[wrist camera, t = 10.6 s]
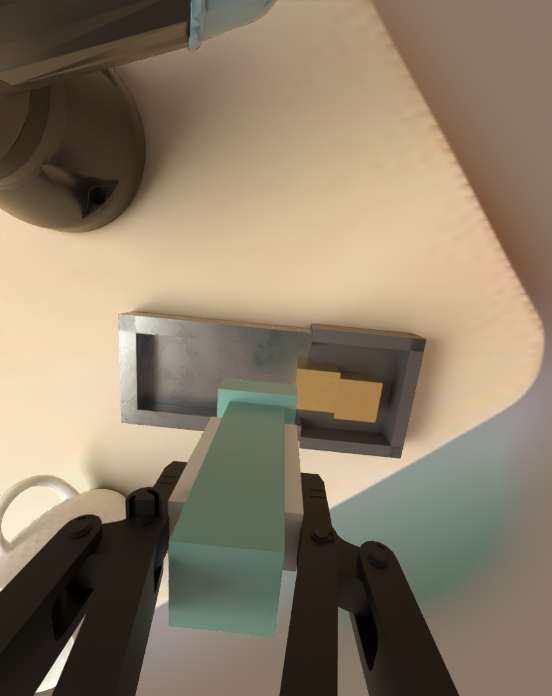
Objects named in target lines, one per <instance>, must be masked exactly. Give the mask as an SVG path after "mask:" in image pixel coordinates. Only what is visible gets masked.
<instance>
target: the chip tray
mask: <svg viewBox="0 0 552 696" xmlns="http://www.w3.org/2000/svg"><path fill="white" fill-rule="evenodd" d="M311 330H312V332H313V336H312V344H311V350H309V351H308V359H307V362H308V363H318V364H328V365H336V366H337V368H338V369H339V371H342V372H352V373H362V374H372V375H376V377H377V378H378V379H379V380H380V381H381V382H382V383H383V385H382V391H381V396H380V401H379V406H378V412H377V417H376V422H375V423H374V422H364V421H355V420H345V419H335V418H333V415H332V413H331V412H321V411H312V410H302V409H301V434H300V441H299V448H303V449H313V450H322V451H332V452H342V453H352V454H362V455H371V456H381V457H391V458H401V455H402V450H403V445H404V440H405V436H406V431H407V426H408V422H409V417H410V412H411V408H412V403H413V398H414V394H415V389H416V384H417V380H418V375H419V370H420V366H421V361H422V356H423V352H424V347H425V342H426V339H424V338H422V337H419V336H417V335H415V334H412V333H403V332H393V331H382V330H372V329H362V328H351V327H341V326H331V325H320V324H311Z"/></svg>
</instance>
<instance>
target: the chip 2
mask: <svg viewBox="0 0 552 696" xmlns="http://www.w3.org/2000/svg"><path fill="white" fill-rule="evenodd" d="M340 373H341V374H340V381H339V387H338V394H337V400H336V407H335V413H332V415H333V418H335V419H345V420H355V421H364V422H374V423H375V422H376V417H377V412H378V406H379V401H380V396H381V391H382V385H383V383H382V382H381V381H380V380H379V379H378V378H377V377H376V375H372V374H362V373H352V372H342V371H340Z"/></svg>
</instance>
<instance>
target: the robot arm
mask: <svg viewBox="0 0 552 696" xmlns="http://www.w3.org/2000/svg"><path fill="white" fill-rule="evenodd" d="M276 1H277V0H0V208H1V209H2V210H4V211H5V212H7V213H9V214H10V215H12V216H14V217H16V218H18V219H20V220H22V221H24V222H27V223H29V224H32V225H35V226H38V227H43V228H47V229H52V230H56V231H61V232H71V233H77V232H86V231H91V230H94V229H97V228H100V227H102V226H104V225H106V224H108V223H109V222H111V221H112V220H114V219H115V218H116V217H118V216H119V215H120V214H121V213H122V212H123V211H124V210H125V208H126V207H127V206H128V205H129V203H130V202H131V200H132V199H133V197H134V195H135V193H136V191H137V189H138V186H139V184H140V181H141V178H142V173H143V168H144V161H145V140H144V133H143V127H142V123H141V119H140V116H139V113H138V110H137V107H136V105H135V103H134V101H133V98H132V97H131V95H130V93H129V91H128V89H127V88H126V86H125V85H124V83H123V82H122V80H121V79H120V78H119V77H118V75H117V74H116V73H115V72H114V70H113V69H112V68H111V67H115V66H119V65H122V64H126V63H130V62H133V61H137V60H141V59H145V58H148V57H152V56H156V55H159V54H163V53H167V52H171V51H174V50H178V49H182V48H186V47H188V49H189V51H193V50H196V49H198V48H199V47H200V45H201V43H202V41H205V40H207V39H210V38H212V37H214V36H217V35H219V34H222V33H224V32H227V31H230V30H232V29H235V28H238V27H241V26H244V25H246V24H249V23H252V22H254V21H256V20H258V19H260V18H261V17H263V16H264V15H265V14H266V13H267V12H268V11H269V10H270V9H271V8H272V6H273V5H274V4H275V2H276ZM221 419H222V418H221V417H211V418H210V420H209V422H208V424H207V426H206V428H205V430H204V432H203V434H202V436H201V438H200V440H199V442H198V444H197V446H196V448H195V450H194V451H193V453H192V455H191V457H190V459H189V461H188V462H178V461H173V462H172V463H170V464H169V465H168V466H167V467H165V469H164V470H163V472H162V474H161V475H160V477H159V478H158V480H157V482H156V483H155V485H154V487H145V488H141V489H138V490H136V491H134V492H132V493H131V494H130V495H129V496H128V497H127V498H126V500H125V508H126V519H123V520H120V521H116V522H110V523H104V524H102V520H101V519H100V518H99V516H96V515H94V514H86V515H82V516H78V517H76V518H74V519H72V520H70V521H69V522H68V523H66V524H65V525H64V526H63V527H62V528H61V529H60V530H59V531H58V532H57V533H56V534H55V535H54V536H53V537H52V538H51V539H50V540H49V541H48V542H47V543H46V544H45V545H44V546H43V548H42V549H41V550H40V551H39V552H38V553H37V554H36V555H35V556H34V557H33V558H32V559H31V560H30V561H29V562H28V563H27V564H26V565H25V566H24V567H23V568H22V569H21V570H20V572H19V573H18V574H17V575H16V576H15V577H14V578H13V579H12V580H11V581H10V582H9V583H8V584H7V585H6V586H5V587H4V588H3V589H2V590H1V591H0V696H34V694H35V692H36V691H37V689H38V688H39V686H40V685H41V683H42V682H43V680H44V678H45V677H46V675H47V674H48V672H49V671H50V669H51V668H52V666H53V664H54V663H55V661H56V660H57V658H58V657H59V655H60V654H61V652H62V650H63V649H64V647H65V646H66V644H67V643H68V641H69V640H70V638H71V636H72V635H73V633H74V632H75V630H76V629H77V627H78V626H79V624H80V622H81V621H82V619H83V618H84V620H83V622H82V625H81V627H80V629H79V632H78V634H77V637H76V639H75V641H74V644H73V646H72V648H71V651H70V653H69V656H68V658H67V660H66V663H65V665H64V667H63V670H62V672H61V675H60V677H59V679H58V682H57V684H56V687H55V689H54V691H53V694H52V696H135V695H136V690H137V686H138V681H139V677H140V672H141V667H142V663H143V659H144V654H145V650H146V645H147V641H148V637H149V632H150V627H151V623H152V619H153V614H154V610H155V605H156V601H157V596H158V592H159V587H160V583H161V579H162V574H163V560H164V558H165V555H166V553H167V551H168V559H169V540H170V537H171V535H172V533H173V530H174V528H175V526H176V523H177V521H178V519H179V516H180V514H181V512H182V509H183V507H184V505H185V503H186V500H187V498H188V496H189V493H190V491H191V489H192V486H193V484H194V482H195V479H196V477H197V475H198V473H199V470H200V468H201V466H202V463H203V461H204V459H205V456H206V454H207V452H208V449H209V447H210V445H211V442H212V440H213V438H214V436H215V433H216V431H217V429H218V426H219V424H220V422H221ZM296 566H297V577H296V583H295V590H294V598H293V604H292V611H291V618H290V625H289V632H288V639H287V646H286V653H285V660H284V668H283V674H282V682H281V689H280V695H279V696H337V680H338V679H337V678H338V677H337V675H338V674H337V673H338V669H337V668H338V667H337V666H338V662H337V661H338V607H340V608H342V609H344V610H346V611H348V612H349V615H350V619H351V623H352V627H353V631H354V635H355V639H356V643H357V648H358V651H359V656H360V660H361V664H362V668H363V673H364V677H365V680H366V685H367V689H368V693H369V696H459V694H458V692H457V690H456V688H455V685H454V683H453V681H452V679H451V677H450V674H449V672H448V670H447V668H446V666H445V663H444V661H443V659H442V657H441V655H440V652H439V650H438V648H437V646H436V644H435V641H434V639H433V637H432V635H431V633H430V630H429V628H428V626H427V624H426V622H425V619H424V617H423V615H422V613H421V611H420V608H419V606H418V604H417V602H416V600H415V597H414V595H413V593H412V591H411V589H410V587H409V584H408V582H407V580H406V578H405V575H404V573H403V571H402V569H401V567H400V564H399V562H398V560H397V558H396V556H395V555H394V553H393V552H392V551H391V550H390V549H389V548H388V547H387V546H385V545H383V544H381V543H379V542H375V541H367V542H365V543H363V544H362V545H361V547H358V546H355V545H353V544H350V543H348V542H346V541H344V540H342V539H341V538H340V537H339V536H338V535H337V533H336V531H335V530H334V528H333V527H332V524H331V518H330V513H329V507H328V502H327V497H326V492H325V486H324V482H323V480H322V479H321V477H320V476H319V475H318V474H309V473H300V460H299V447H298V434H297V425H294V424H285V553H284V561H283V569H282V570H287V571H296ZM84 616H85V617H84Z"/></svg>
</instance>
